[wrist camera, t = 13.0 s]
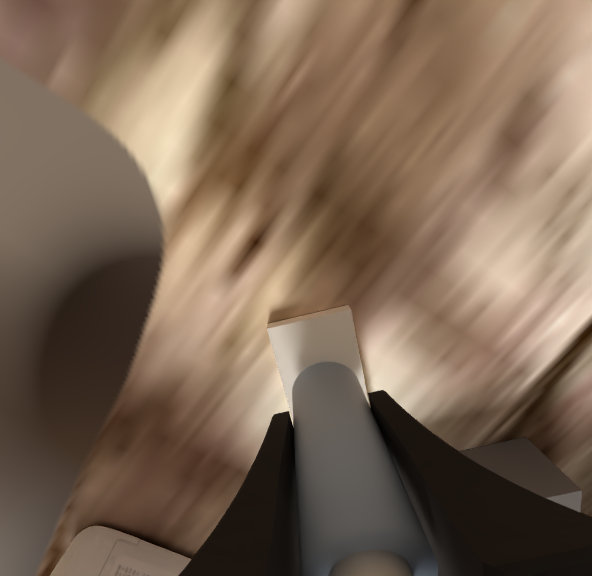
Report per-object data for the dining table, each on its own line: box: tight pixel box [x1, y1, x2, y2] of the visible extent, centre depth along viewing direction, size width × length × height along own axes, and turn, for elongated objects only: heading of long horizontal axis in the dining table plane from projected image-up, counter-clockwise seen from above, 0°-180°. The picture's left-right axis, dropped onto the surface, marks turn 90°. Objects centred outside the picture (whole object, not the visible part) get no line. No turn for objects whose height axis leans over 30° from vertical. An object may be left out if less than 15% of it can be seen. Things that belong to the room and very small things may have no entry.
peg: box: [292, 362, 438, 576], centre depth 10 cm, size 3×3×8 cm
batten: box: [267, 305, 369, 419], centre depth 16 cm, size 16×4×1 cm, turn 13°
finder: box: [459, 437, 582, 512], centre depth 16 cm, size 5×8×4 cm, turn 103°
